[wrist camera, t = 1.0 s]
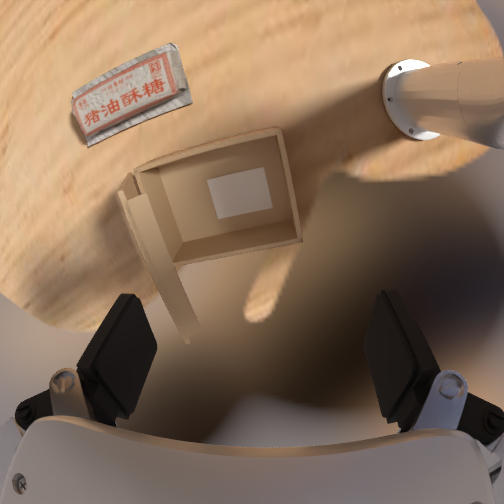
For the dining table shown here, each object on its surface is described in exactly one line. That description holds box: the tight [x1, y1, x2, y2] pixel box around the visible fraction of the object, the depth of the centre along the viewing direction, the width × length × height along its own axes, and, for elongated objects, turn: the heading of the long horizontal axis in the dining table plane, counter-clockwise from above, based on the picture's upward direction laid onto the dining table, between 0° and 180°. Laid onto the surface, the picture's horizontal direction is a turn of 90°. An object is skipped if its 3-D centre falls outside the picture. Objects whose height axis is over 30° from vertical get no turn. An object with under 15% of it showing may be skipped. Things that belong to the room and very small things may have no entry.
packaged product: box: [71, 43, 193, 147], centre depth 30 cm, size 18×5×10 cm
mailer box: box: [133, 127, 303, 267], centre depth 35 cm, size 18×14×7 cm
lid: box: [118, 173, 202, 344], centre depth 26 cm, size 16×14×2 cm
